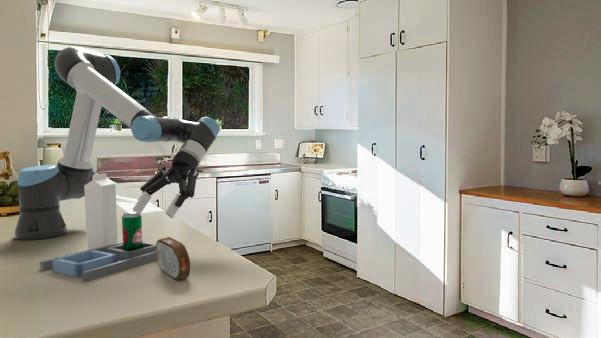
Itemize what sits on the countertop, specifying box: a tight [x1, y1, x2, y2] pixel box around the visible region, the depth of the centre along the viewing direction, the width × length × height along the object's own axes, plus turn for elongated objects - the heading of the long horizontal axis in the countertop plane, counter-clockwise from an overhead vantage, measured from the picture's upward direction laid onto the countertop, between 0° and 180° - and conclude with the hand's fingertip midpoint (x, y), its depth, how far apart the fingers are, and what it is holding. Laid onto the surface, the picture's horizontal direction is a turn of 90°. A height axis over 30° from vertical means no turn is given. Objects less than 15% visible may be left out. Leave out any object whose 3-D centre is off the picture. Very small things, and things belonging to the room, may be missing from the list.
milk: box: [84, 173, 119, 251], centre depth 128 cm, size 6×6×22 cm
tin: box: [155, 236, 191, 281], centre depth 102 cm, size 15×3×8 cm, turn 38°
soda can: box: [121, 210, 144, 251], centre depth 119 cm, size 5×5×12 cm
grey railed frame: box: [39, 241, 157, 282], centre depth 114 cm, size 18×26×3 cm
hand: (151, 213), depth 123 cm, fingers open, 13 cm apart
